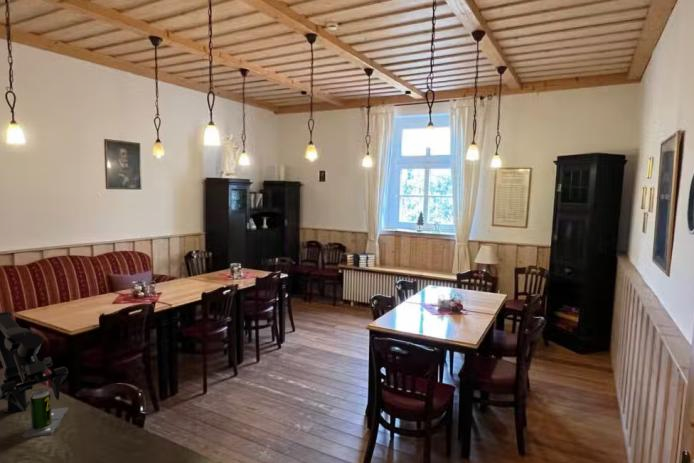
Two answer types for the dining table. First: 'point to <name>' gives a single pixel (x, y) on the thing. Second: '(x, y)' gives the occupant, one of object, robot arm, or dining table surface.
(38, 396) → the beer can
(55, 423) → the three-dot tile
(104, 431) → the dining table surface
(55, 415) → the one-dot tile
